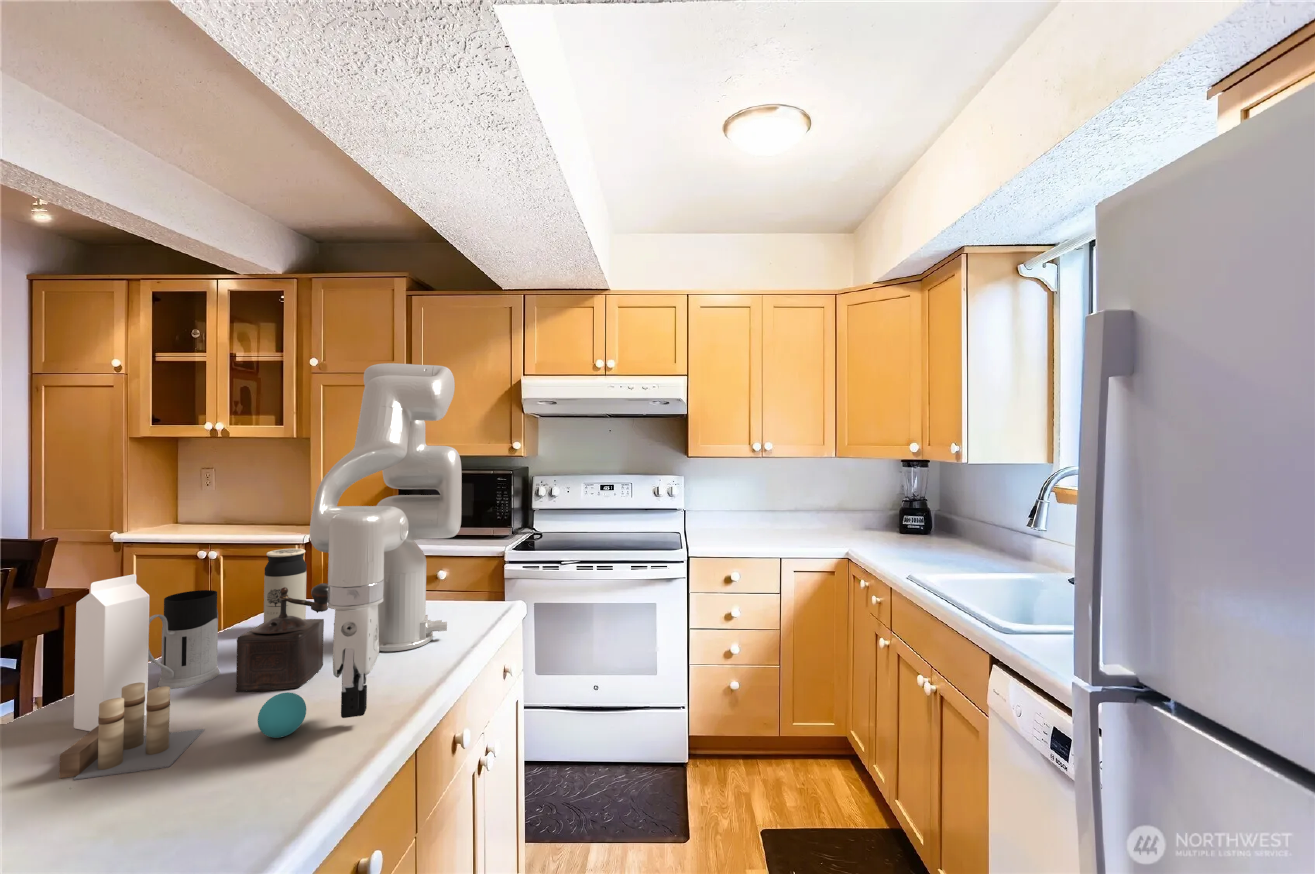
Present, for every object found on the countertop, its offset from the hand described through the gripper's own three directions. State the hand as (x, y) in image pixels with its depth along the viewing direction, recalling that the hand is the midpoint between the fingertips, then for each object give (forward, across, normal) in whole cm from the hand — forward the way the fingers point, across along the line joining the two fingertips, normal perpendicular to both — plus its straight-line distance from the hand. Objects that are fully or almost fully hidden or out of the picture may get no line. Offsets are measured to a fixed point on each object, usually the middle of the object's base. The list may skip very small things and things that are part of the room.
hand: (353, 714), depth 86 cm
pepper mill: (+2, +22, +14) cm, 26 cm away
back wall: (+2, +1, +32) cm, 32 cm away
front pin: (+2, 0, +24) cm, 25 cm away
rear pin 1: (+2, -2, +28) cm, 29 cm away
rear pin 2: (+2, +3, +28) cm, 29 cm away
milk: (+2, +12, +36) cm, 38 cm away
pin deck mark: (+2, 0, +26) cm, 26 cm away
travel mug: (+2, +52, +24) cm, 57 cm away
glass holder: (+2, +25, +32) cm, 41 cm away
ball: (-1, 0, +10) cm, 10 cm away
